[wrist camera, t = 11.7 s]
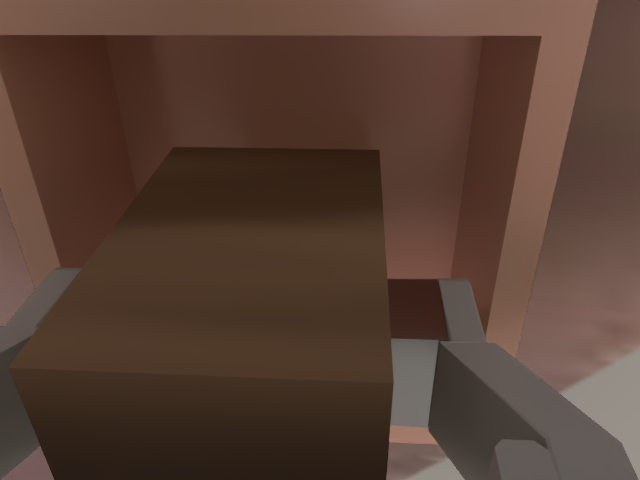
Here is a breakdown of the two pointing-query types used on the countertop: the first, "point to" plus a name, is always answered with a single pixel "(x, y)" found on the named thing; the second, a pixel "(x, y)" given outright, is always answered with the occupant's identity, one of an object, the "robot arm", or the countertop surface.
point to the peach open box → (301, 119)
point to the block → (225, 327)
